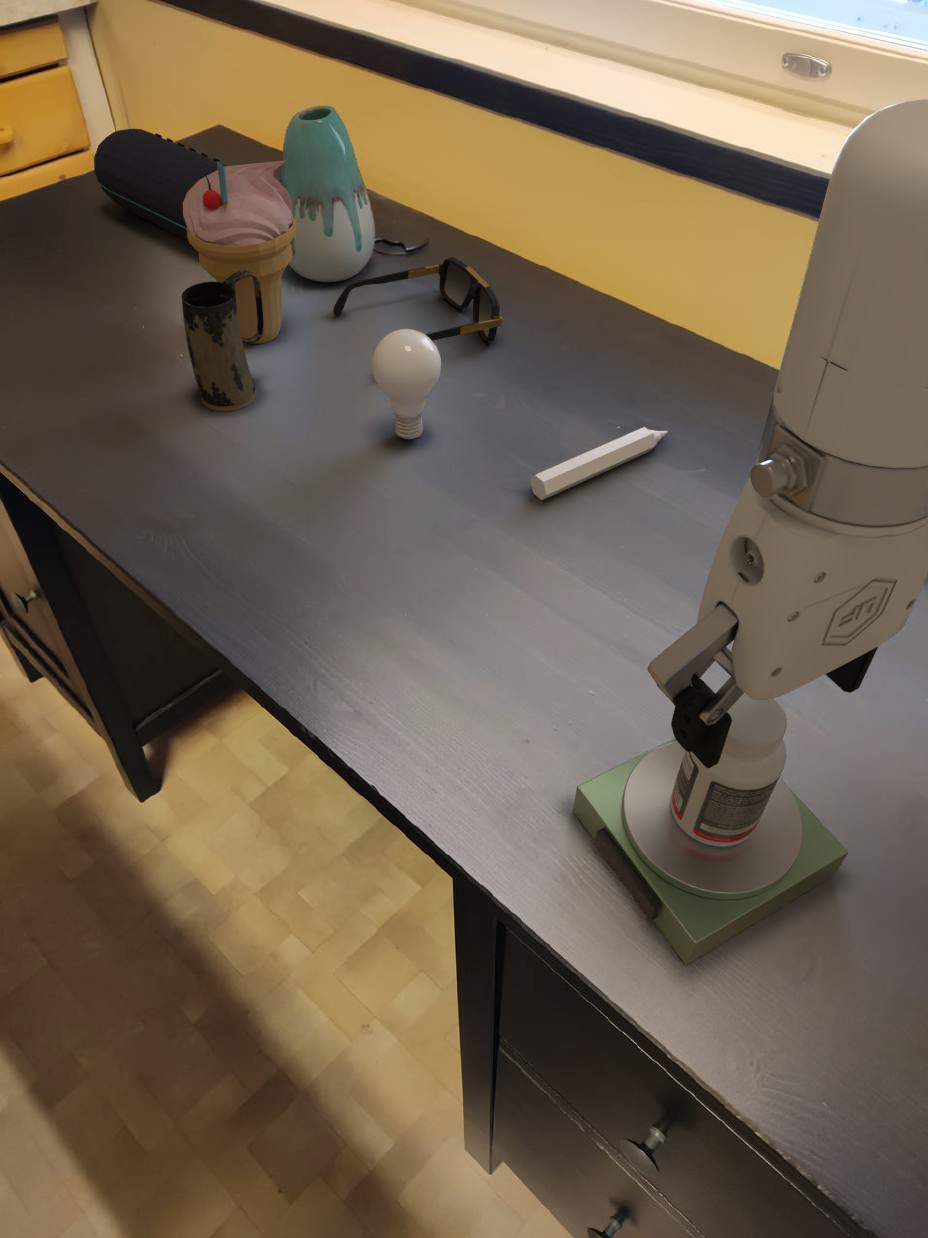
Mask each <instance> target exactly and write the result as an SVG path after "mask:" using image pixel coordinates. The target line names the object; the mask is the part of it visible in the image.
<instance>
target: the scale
mask: <svg viewBox="0 0 928 1238" xmlns="http://www.w3.org/2000/svg"><path fill="white" fill-rule="evenodd" d="M676 741H677V740H676V738H675V737H674V738H672V739H670V740H668V741H666V742H664V743H662V744H659V745H658V746H656V747H653V748H652V749H650V750H647V751H646V752H644V753H642V754H640V755H638V756H636V757H633V758H632V759H629V760H628V761H626V762H624V763H622V764H620V765H617V766H616V767H613V768H611V769H609V770H607V771H606V772H603V773H601V774H600V775H597V776H595V777H593V778H591V779H589V780H587V781H585V782H583V783H581V784H579V785H578V786H576V789H575V790H576V791H575V795H574V802H573V807H572V813H574V815H575V816H576V818H577V819H578V821H579V822H580V823H581V824H582V826H583V827H584V828H585V831H587V833H588V834H589V836H590V837H591V838H592V839H593V846H595V848H596V849H597V851H598V852H599V854H601V856H602V857H603V859H604V860H605V861H606V863H607V864H608V865H609V867H610V868H611V870H612V871H613V872H614V874H615V875H616V877H617V878H618V880H619V881H620V882H621V883H622V885H623V886H624V887H625V889H626V890H627V891H628V893H629V894H630V895H631V897H632V899H633V900H634V902H635V903H636V904H637V905H638V907H639V909H641V911H642V912H643V913H644V915H645V916H646V917H647V919H648V920H649V921H650V922H653V923H654V924H655V926H656V928H657V929H658V930H659V931H660V932H661V934H662V935H663V937H665V940H666V941H667V943H669V945H670V946H671V948H672V949H673V950H674V951H675V953H676V954H677V956H678V957H679V959H681V961H682V962H683V964H684V965H685V966H687V965H689V964H690V963H693V962H694V961H696V960H697V959H699V958H700V957H702V956H704V955H705V954H707V953H708V952H710V951H712V950H713V949H716V948H717V947H718V946H720V945H722V944H724V943H725V942H726V941H728V940H730V939H731V938H732V939H733V937H735V936H737V935H739V934H740V933H741V932H744V931H746V930H747V929H748V928H749V927H751V926H754V925H755V924H756V923H758V922H760V921H761V920H763V919H765V918H767V917H768V916H770V915H771V914H773V913H774V912H776V911H778V910H780V909H781V908H783V907H784V906H786V905H788V904H790V903H791V902H793V901H794V900H796V899H799V898H800V897H801V896H803V895H804V894H806V893H808V892H809V891H811V890H813V889H815V888H816V887H817V886H820V885H821V884H823V883H824V882H826V881H828V880H830V879H831V878H832V877H834V876H835V875H836V873H837V872H838V870H839V869H840V867H841V865H842V863H843V862H844V860H845V859H846V858H847V856H848V855H849V850H848V849H846V847H845V846H844V845H843V844H842V843H841V842H840V841H839V839H837V837H836V836H835V835H834V834H832V832H831V831H830V830H829V829H828V828H827V826H825V824H823V823H822V822H821V820H820V819H819V818H818V817H817V816H816V815H815V814H814V812H812V810H810V808H809V807H807V805H806V804H805V803H804V802H803V801H802V800H801V799H800V798H799V797H798V796H797V795H796V794H795V792H794V791H793V790H792V789H791V788H790V787H789V786H788V788H789V789H790V791H791V792H792V794H793V796H794V798H795V800H796V802H797V804H798V807H799V810H800V813H801V818H802V823H803V838H802V845H801V848H800V852H799V854H798V856H797V858H796V860H795V862H794V864H793V866H792V868H791V869H790V870H789V872H788V873H787V875H786V876H785V877H784V878H783V879H782V880H781V881H780V882H779V883H777V884H776V885H775V886H773V887H772V888H770V889H768V890H766V891H764V892H762V893H760V894H757V895H754V896H751V897H747V898H741V899H730V900H723V899H712V898H707V897H702V896H698V895H695V894H692V893H689V892H687V891H684V890H682V889H680V888H678V887H676V886H674V885H672V884H671V883H669V882H667V881H666V880H664V879H663V878H661V877H660V876H659V875H657V874H656V873H655V872H654V871H653V870H652V869H651V868H650V867H648V866H647V865H646V863H645V862H644V861H643V860H642V859H641V858H640V856H639V855H638V853H637V852H636V850H635V849H634V847H633V846H632V844H631V842H630V840H629V838H628V836H627V833H626V830H625V827H624V823H623V817H622V799H623V794H624V790H625V786H626V782H627V780H628V778H629V776H630V773H631V772H632V770H633V769H634V767H635V766H636V765H637V764H638V762H639V761H640V760H641V759H642V758H643V757H645V756H646V755H647V754H648V753H650V752H652V751H653V750H655V749H657V748H658V747H661V746H663V745H666V744H668V743H672V742H676Z"/></svg>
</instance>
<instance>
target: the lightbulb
mask: <svg viewBox="0 0 928 1238" xmlns="http://www.w3.org/2000/svg"><path fill="white" fill-rule="evenodd" d="M425 334H426V333H424V332H422V331H420V330H416V329H413V328H401V329H396V330H393V331H391V332H388V333H387V334H386V335H384V336H383V337H382V338H381V339H380V340H379V342H378V343H377V344H376V346H375V348H374V350H373V352H372V356H371V357H372V358H371V371H372V376H373V378H374V381H375V383H376V385H377V386H378V388H379V389H380V390H381V391H382V392H383V394H384V395H385V396H386V397H387V399H388V400H389V404H390V407H391V409H392V411H393V416H394V428H395V429H394V432H395V434H396V435H397V436H398V437H399V438H400V439H401V438H402V439H404V440H413V439H416V438H419V437H420V436H421V435H422V434H423V432H424V430H423V429H424V425H423V424H424V423H423V411H424V409H425V407H426V404H427V399H428V397H429V395H430V394H431V393H432V392H433V390H434V389H435V387H436V386H437V384H438V383H439V381H440V377H441V373H442V358H441V354H440V351H439V348H438V347H437V345H436V343H434V341H432V340H431V339H430V338H429V337H428V336H426V335H425Z"/></svg>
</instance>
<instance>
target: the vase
mask: <svg viewBox="0 0 928 1238" xmlns="http://www.w3.org/2000/svg"><path fill="white" fill-rule="evenodd" d="M283 138H284V139H283V145H282V157H281V159H282V160H281V161H285V160H287V161H286V162H284V163H283V164H282V165H281V166H280V167H281V169H280V177H279V182H280V184H281V185H282V186H283V187H284V188H285V189H286V190H287V191H288V192H289V195H290V198H291V201H292V215H293V217H294V219H295V223H296V231H295V237H294V238H293V240H292V241H291V243H290V244H291V248H292V251H293V254H292V260H291V261H290V262H289V264H288V266H289V267H290V268H291V270H293V271H294V272H295V273H296V274H298V276H300V277H303V278H305V279H307V280H310V281H313V282H318V283H336V282H337V283H338V282H342V281H345V280H348V279H349V280H350V279H351V278H353V277H355V276H356V275H358V274H359V273H361V272H362V271H363V269H365V267H366V266H367V264H368V263H369V261H370V260H371V258H372V255H373V253H374V249H375V245H376V223H375V217H374V213H373V208H372V205H371V201H370V197H369V193H368V190H367V187H366V184H365V181H364V179H363V176H362V173H361V170H360V166H359V164H358V163H359V162H358V160H357V157H356V153H355V148H354V146H353V141H352V140H351V136H350V134H349V131H348V128H347V126H346V125H345V123H344V120H343V119H342V117H341V116H340V114H339V113H338V111H337V110H336V109H335V107H334V106H331V105H315V106H312V107H308V108H305V109H303V110H300V111H298V112H297V113H295V114H294V115H292V117H291V119H290V121H289V122H288V125H287V127H286V131H285V134H284V137H283Z"/></svg>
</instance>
